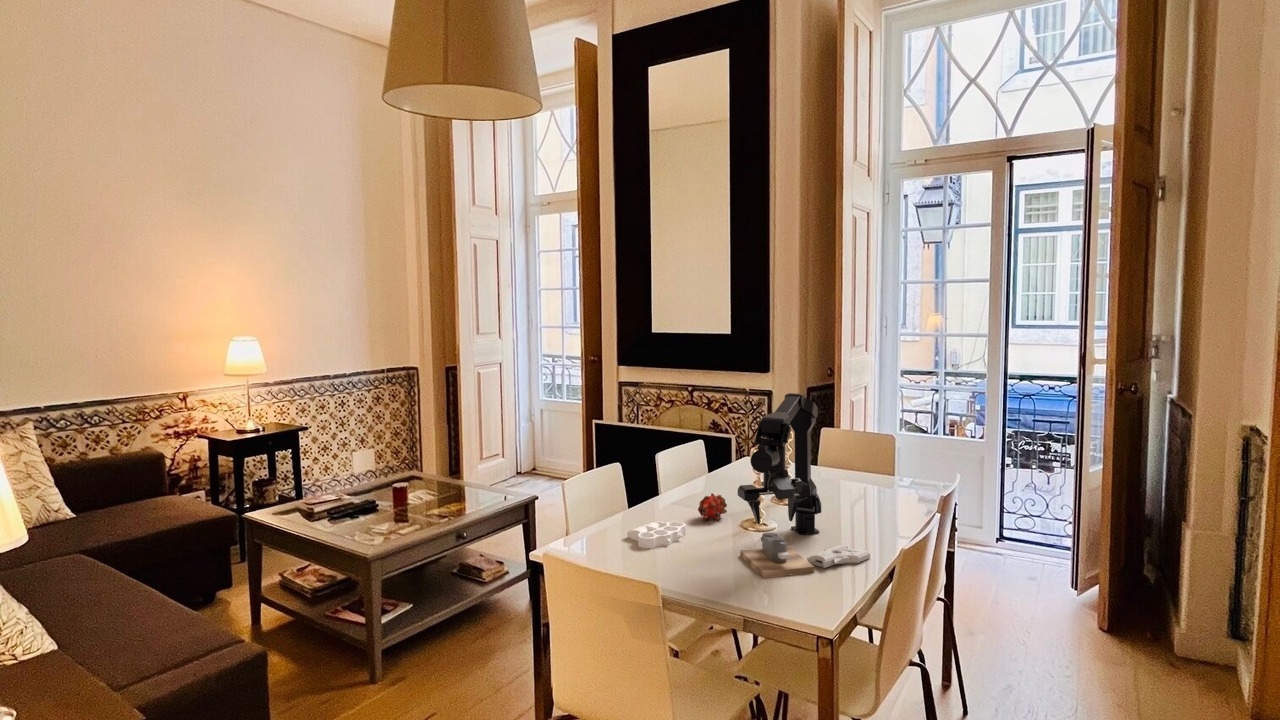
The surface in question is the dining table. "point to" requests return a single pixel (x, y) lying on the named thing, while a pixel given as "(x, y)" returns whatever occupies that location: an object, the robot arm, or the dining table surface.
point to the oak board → (771, 569)
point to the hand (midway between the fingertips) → (774, 522)
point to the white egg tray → (658, 533)
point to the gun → (838, 556)
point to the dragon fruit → (712, 507)
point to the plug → (774, 548)
